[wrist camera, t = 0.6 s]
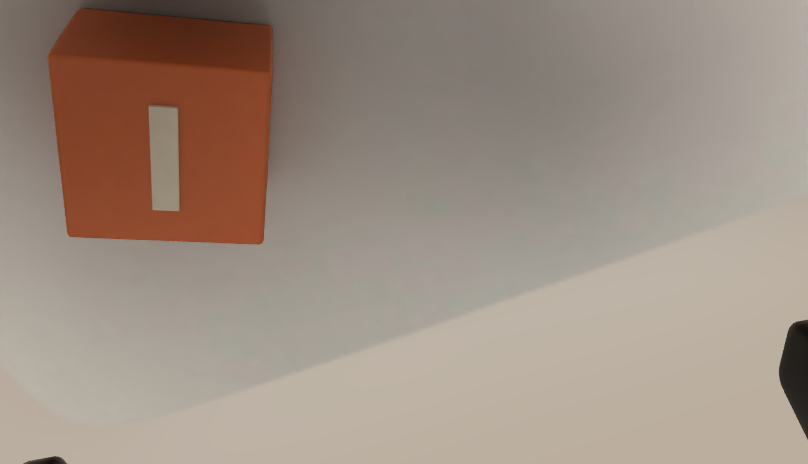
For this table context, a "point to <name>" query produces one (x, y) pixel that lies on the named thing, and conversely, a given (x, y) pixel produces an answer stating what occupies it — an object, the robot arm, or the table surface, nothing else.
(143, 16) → the orange block
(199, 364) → the table surface
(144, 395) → the table surface
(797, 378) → the robot arm
